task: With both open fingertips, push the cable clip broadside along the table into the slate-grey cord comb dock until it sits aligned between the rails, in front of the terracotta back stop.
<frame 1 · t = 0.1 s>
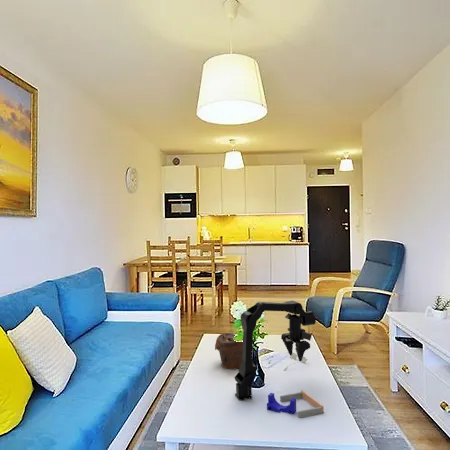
hand: (295, 358, 201), 15 cm above the table, fingers open, 9 cm apart
cord comb dock: (301, 406, 180), on the table
eyeglasses: (287, 364, 233), on the table
cable clip: (281, 411, 177), on the table
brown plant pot: (232, 365, 232), on the table
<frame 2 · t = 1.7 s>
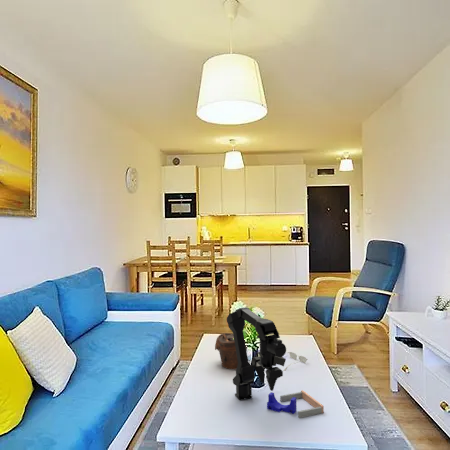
hand: (266, 386, 174), 12 cm above the table, fingers open, 9 cm apart
nothing on the table moved.
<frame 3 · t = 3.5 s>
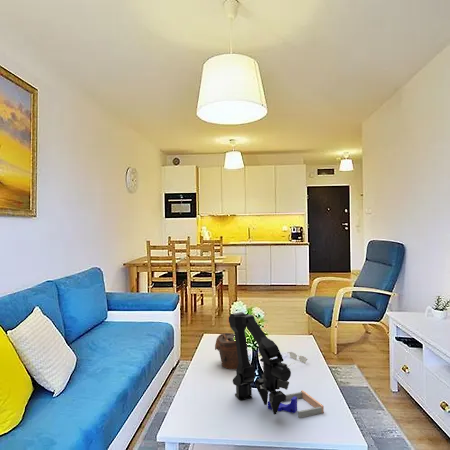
hand: (270, 409, 175), 2 cm above the table, fingers open, 9 cm apart
cable clip: (282, 410, 178), on the table, touching gripper
everything else where it was.
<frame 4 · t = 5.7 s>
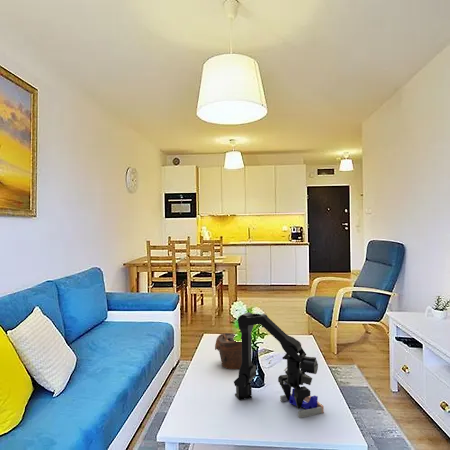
hand: (293, 404, 179), 2 cm above the table, fingers open, 9 cm apart
cable clip: (302, 407, 180), on the table, touching gripper
everything else where it was.
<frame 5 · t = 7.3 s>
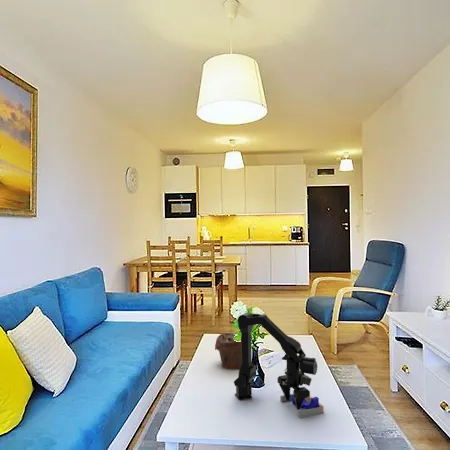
hand: (293, 405, 179), 1 cm above the table, fingers open, 9 cm apart
cable clip: (305, 408, 180), on the table
everything else where it was.
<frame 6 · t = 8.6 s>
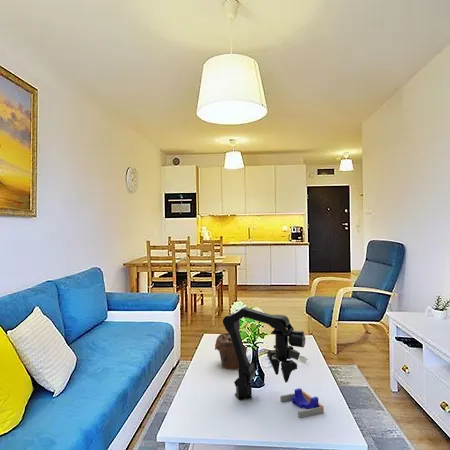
hand: (281, 378, 183), 12 cm above the table, fingers open, 9 cm apart
nothing on the table moved.
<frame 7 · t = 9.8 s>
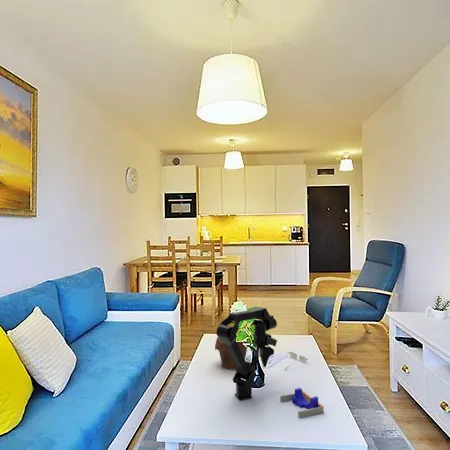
hand: (260, 363, 201), 12 cm above the table, fingers open, 9 cm apart
nothing on the table moved.
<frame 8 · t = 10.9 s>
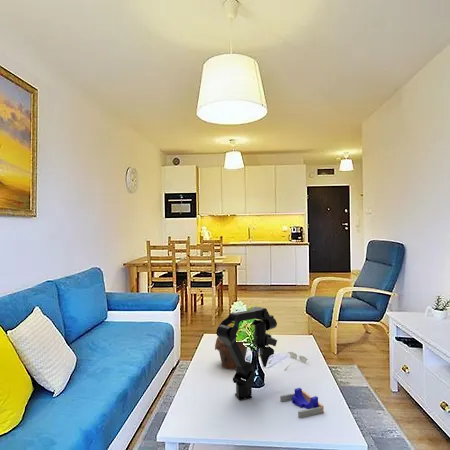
hand: (260, 363, 201), 12 cm above the table, fingers open, 9 cm apart
nothing on the table moved.
at the end: cable clip inside the target area on the cord comb dock (1.9 cm from its centre), point 0.0 cm above the cord comb dock's base; cable clip tilted 0° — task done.
